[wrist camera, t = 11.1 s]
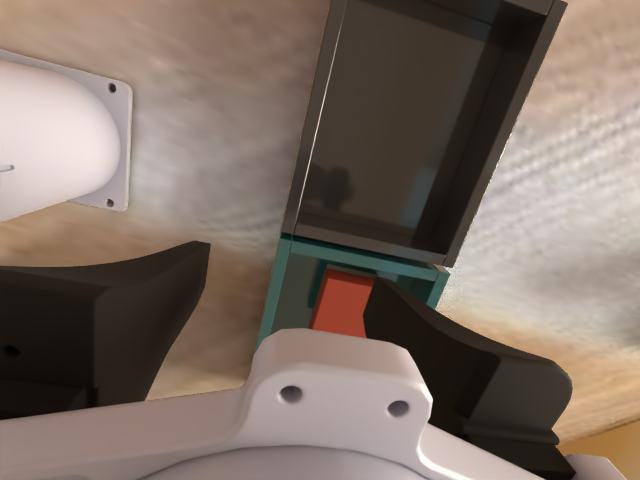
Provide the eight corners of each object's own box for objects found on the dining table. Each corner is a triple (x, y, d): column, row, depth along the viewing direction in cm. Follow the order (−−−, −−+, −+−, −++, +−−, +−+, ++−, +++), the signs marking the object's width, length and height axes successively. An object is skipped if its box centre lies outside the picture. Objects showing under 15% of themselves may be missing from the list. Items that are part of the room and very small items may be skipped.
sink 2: (283, 216, 22) (280, 232, 19) (338, -42, 17) (348, -81, 14) (431, 249, 23) (452, 268, 20) (522, 23, 18) (569, 2, 15)
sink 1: (247, 382, 27) (240, 416, 24) (281, 221, 22) (279, 238, 19) (371, 398, 28) (380, 433, 25) (430, 253, 24) (450, 273, 20)
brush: (290, 374, 26) (289, 409, 23) (324, 260, 22) (328, 282, 19) (341, 382, 27) (347, 417, 24) (382, 272, 23) (395, 296, 20)
